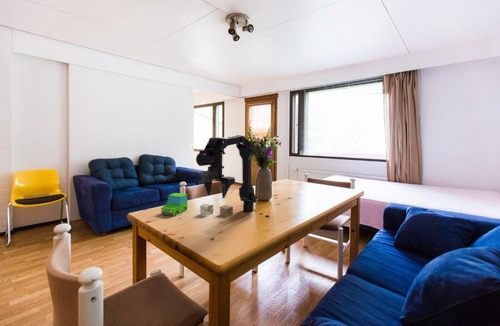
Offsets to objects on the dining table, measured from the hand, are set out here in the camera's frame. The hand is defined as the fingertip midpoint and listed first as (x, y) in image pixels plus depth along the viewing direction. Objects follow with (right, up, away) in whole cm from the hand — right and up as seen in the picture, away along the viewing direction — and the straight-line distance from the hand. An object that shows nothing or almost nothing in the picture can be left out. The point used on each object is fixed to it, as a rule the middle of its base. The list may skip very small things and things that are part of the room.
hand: (216, 196), depth 113 cm
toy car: (-26, -13, +19) cm, 34 cm away
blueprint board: (-8, -13, +18) cm, 24 cm away
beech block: (-8, -12, +17) cm, 23 cm away
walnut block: (+3, -13, +18) cm, 22 cm away
